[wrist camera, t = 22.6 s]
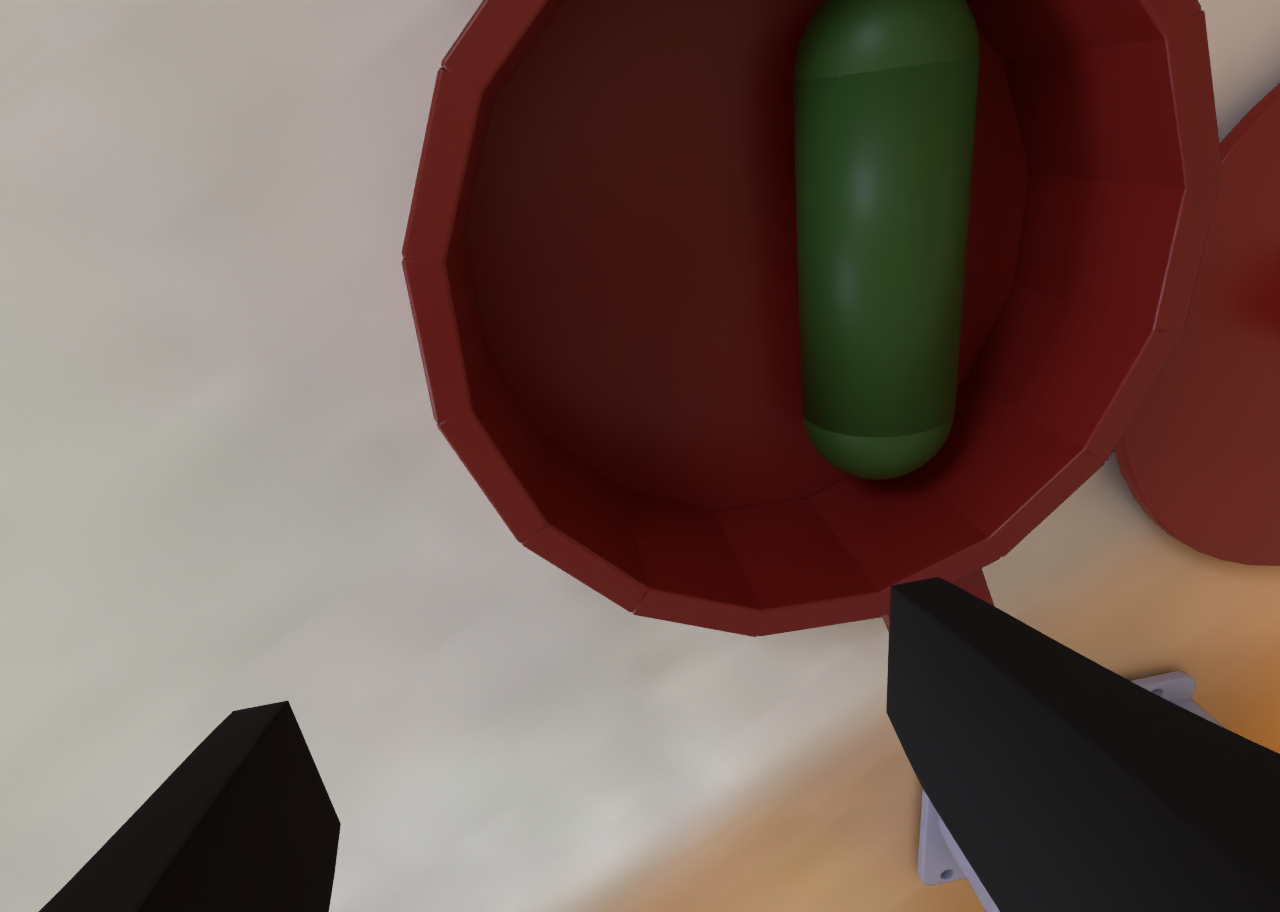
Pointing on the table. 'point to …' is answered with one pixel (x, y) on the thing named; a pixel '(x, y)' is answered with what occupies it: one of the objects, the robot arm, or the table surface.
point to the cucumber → (883, 225)
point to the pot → (785, 294)
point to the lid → (1223, 372)
